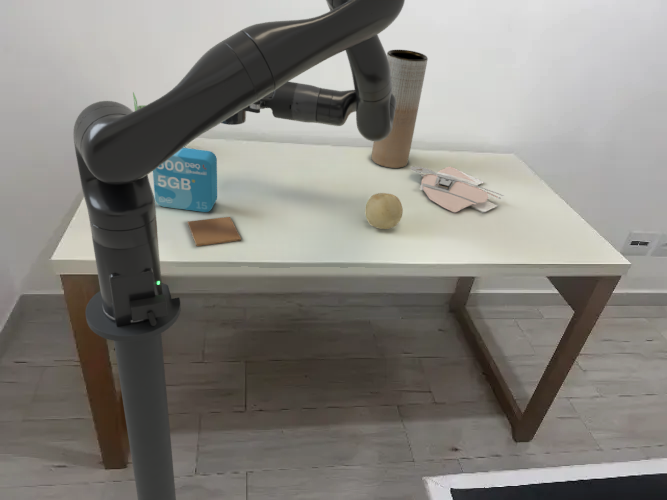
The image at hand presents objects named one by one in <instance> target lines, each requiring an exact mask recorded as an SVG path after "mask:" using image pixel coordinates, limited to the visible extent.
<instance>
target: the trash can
mask: <svg viewBox="0 0 667 500" xmlns="http://www.w3.org/2000/svg"><path fill="white" fill-rule="evenodd" d="M246 121H247V111H243V110H241V111H239V112H237V113H236V114H234V115H233V116H231V117H229V118H228V119H226V120H225V121H223V122H221V123H220V124H223V125H229V126H237V125H242V124H244V123H246Z"/></svg>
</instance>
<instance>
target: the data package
mask: <svg viewBox="0 0 667 500" xmlns="http://www.w3.org/2000/svg"><path fill="white" fill-rule="evenodd" d="M152 179H153V191H154V192H153V194H154V199H155V203H156V204H157V205H158V206H160V207H163V208H169V209H170V208H172V209H178V210H187V211H193V212H201V213H209V212H210V211H211V210H212V209H213V208H214V206H215V203H216V202H217V200H218V157H217V155H216V154H215V153H214V152H213V151H211V150H205V149H197V148H190V147H183V148H182V149H181V150H179V151H178V152H177V153H175V154H174V155H173V156H172V157H170V158H169V159H168V160H166V161H165V162H164V163H162V164H161V165H160V166H159V167H157V168H156V169H155V170H153V171H152Z"/></svg>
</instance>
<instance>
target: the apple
mask: <svg viewBox="0 0 667 500" xmlns="http://www.w3.org/2000/svg"><path fill="white" fill-rule="evenodd" d="M403 211H404V210H403V205H402V202H401V200H400V199H399V197H398V196H396V195H395V194H392V193H387V192H378V193H375V194H373V195H371V196H370V197H369V198H368V199H367V202H366V204H365V209H364V212H365V217H366V220H367V222H368V223H369V224H370V225H371V226H372V227H374V228H376V229H379V230H380V229H381V230H389V229H392V228H394V227H396V226H397V225H398V224H399V223H400V222H401V220H402V218H403Z"/></svg>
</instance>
